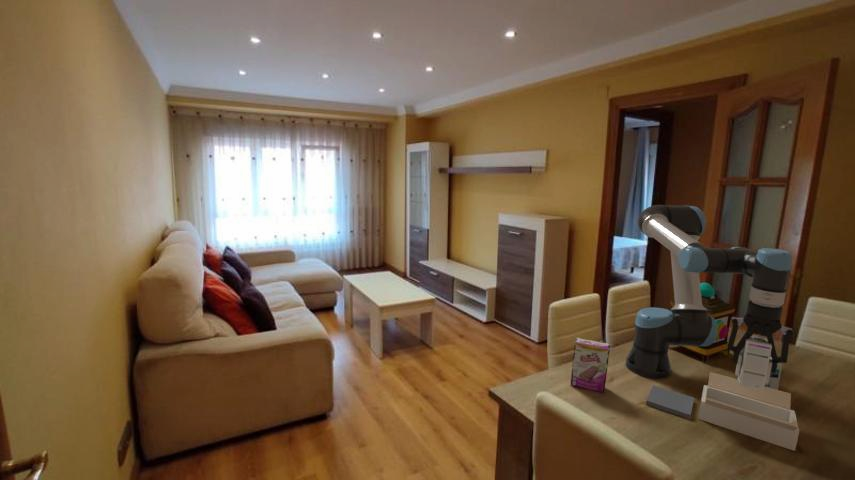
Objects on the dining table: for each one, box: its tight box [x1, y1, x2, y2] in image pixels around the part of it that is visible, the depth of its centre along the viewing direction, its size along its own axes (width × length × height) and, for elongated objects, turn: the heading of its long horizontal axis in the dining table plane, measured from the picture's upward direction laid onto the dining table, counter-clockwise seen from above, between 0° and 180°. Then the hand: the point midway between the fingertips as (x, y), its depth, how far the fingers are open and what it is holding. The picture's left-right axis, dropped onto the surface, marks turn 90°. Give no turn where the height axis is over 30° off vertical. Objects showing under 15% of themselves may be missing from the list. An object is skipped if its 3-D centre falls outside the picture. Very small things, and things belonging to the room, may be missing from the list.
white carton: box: [698, 371, 800, 452], centre depth 118 cm, size 22×20×9 cm
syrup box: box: [737, 335, 772, 392], centre depth 116 cm, size 6×6×14 cm
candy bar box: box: [570, 337, 611, 394], centre depth 137 cm, size 11×5×16 cm, turn 65°
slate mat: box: [645, 384, 695, 420], centre depth 129 cm, size 12×12×2 cm
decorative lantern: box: [670, 282, 736, 364], centre depth 165 cm, size 20×20×30 cm
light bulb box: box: [765, 356, 783, 390], centre depth 141 cm, size 11×7×11 cm, turn 168°
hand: (751, 377), depth 117 cm, fingers closed on syrup box, 6 cm apart
